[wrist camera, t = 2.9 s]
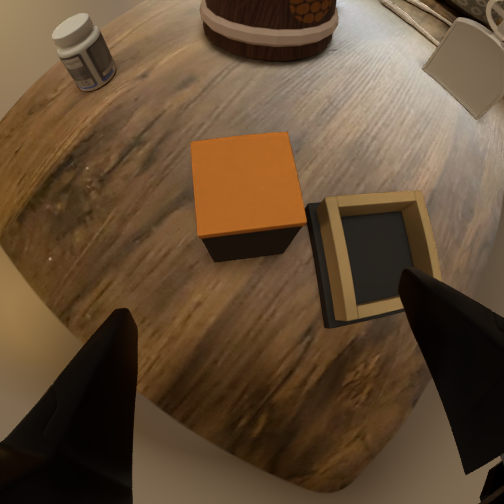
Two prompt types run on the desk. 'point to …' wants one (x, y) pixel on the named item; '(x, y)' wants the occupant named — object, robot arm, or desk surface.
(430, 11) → the earphone
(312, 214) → the base pad
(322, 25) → the mug
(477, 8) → the planter
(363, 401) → the desk surface
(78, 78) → the pill bottle
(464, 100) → the gravestone
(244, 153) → the orange rectangular block
